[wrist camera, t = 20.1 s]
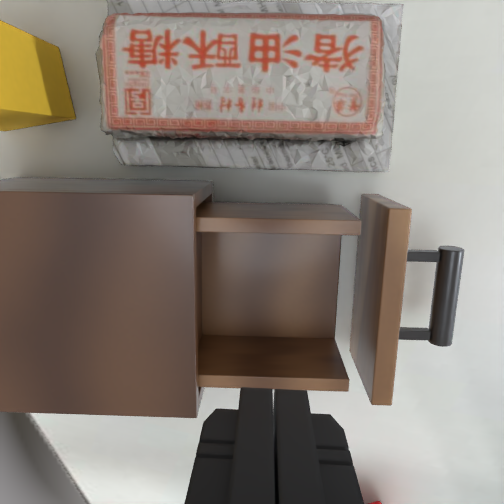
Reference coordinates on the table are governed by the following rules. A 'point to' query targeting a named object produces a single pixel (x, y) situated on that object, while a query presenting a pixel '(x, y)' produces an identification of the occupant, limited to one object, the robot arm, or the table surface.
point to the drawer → (309, 294)
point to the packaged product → (250, 83)
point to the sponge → (31, 81)
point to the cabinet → (99, 296)
